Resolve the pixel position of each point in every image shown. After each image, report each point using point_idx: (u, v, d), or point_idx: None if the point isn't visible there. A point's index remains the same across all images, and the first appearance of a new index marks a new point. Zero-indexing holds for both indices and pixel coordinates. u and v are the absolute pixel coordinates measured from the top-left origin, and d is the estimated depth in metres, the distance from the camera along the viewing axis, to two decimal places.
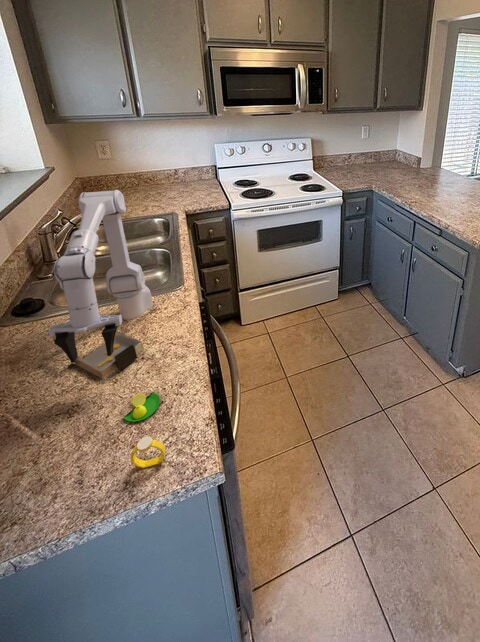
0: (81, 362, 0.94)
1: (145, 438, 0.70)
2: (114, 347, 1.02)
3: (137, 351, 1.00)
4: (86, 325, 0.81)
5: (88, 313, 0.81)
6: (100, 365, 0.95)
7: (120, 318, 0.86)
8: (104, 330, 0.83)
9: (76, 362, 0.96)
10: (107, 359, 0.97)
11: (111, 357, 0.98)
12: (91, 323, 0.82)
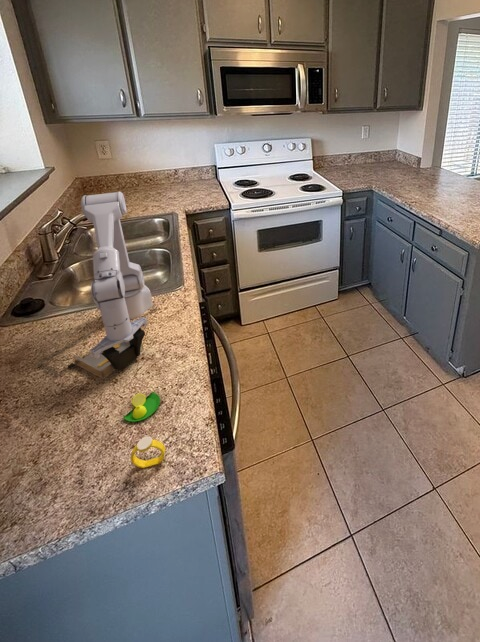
0: (81, 362, 0.94)
1: (145, 438, 0.70)
2: (114, 347, 1.02)
3: None
4: (130, 333, 0.92)
5: (129, 322, 0.92)
6: (100, 365, 0.95)
7: None
8: (136, 335, 0.95)
9: (76, 362, 0.96)
10: (107, 359, 0.97)
11: None
12: (131, 330, 0.93)
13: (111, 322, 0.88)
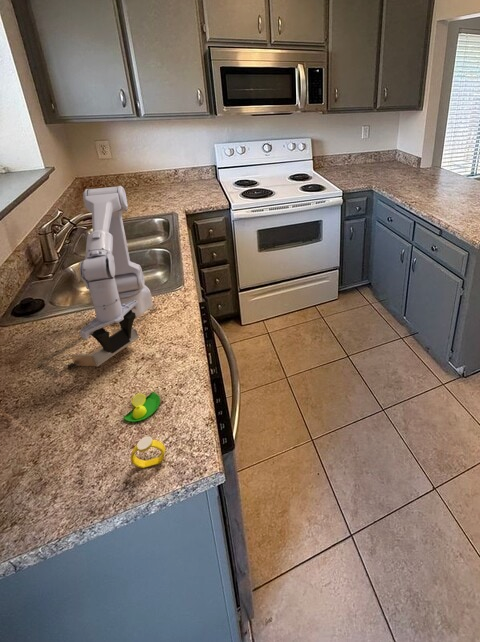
0: (77, 357, 0.94)
1: (145, 438, 0.70)
2: None
3: (131, 337, 0.99)
4: (120, 314, 0.91)
5: (119, 304, 0.91)
6: None
7: None
8: (127, 316, 0.94)
9: (75, 361, 0.96)
10: None
11: None
12: (122, 312, 0.92)
13: (100, 302, 0.87)
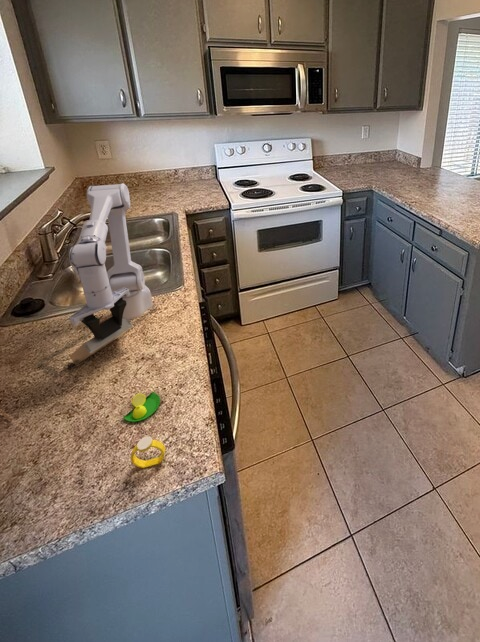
0: (74, 354, 0.94)
1: (145, 438, 0.70)
2: None
3: (124, 326, 0.98)
4: (110, 301, 0.91)
5: (110, 290, 0.91)
6: None
7: None
8: (118, 304, 0.94)
9: (73, 360, 0.96)
10: None
11: None
12: (112, 299, 0.92)
13: (89, 289, 0.87)
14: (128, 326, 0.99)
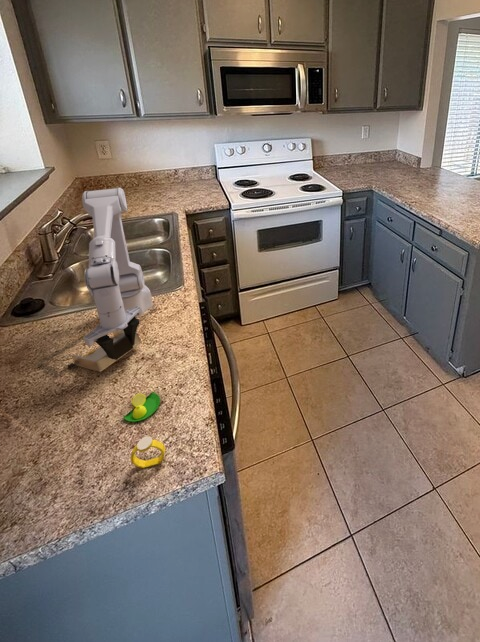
0: (79, 359, 0.94)
1: (145, 438, 0.70)
2: None
3: None
4: (124, 321, 0.91)
5: (123, 310, 0.91)
6: None
7: None
8: (131, 323, 0.94)
9: (75, 361, 0.96)
10: None
11: (92, 350, 1.01)
12: (126, 319, 0.92)
13: (105, 310, 0.87)
14: (137, 343, 1.00)
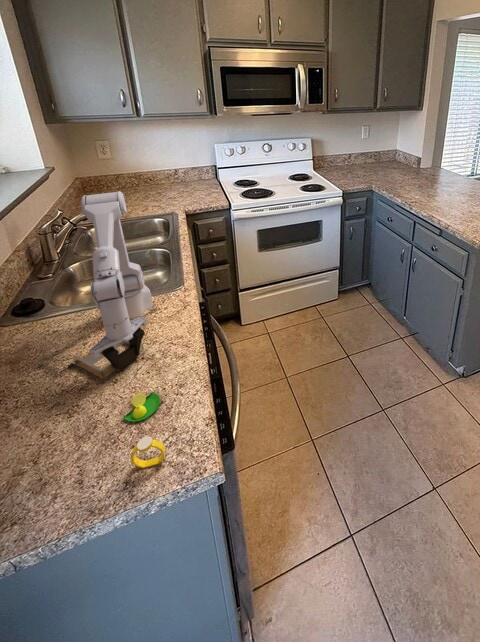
0: (81, 362, 0.94)
1: (145, 438, 0.70)
2: None
3: None
4: (129, 332, 0.92)
5: (129, 322, 0.92)
6: None
7: None
8: (136, 334, 0.95)
9: (76, 362, 0.96)
10: (89, 352, 1.00)
11: None
12: (131, 330, 0.93)
13: (111, 321, 0.88)
14: (140, 351, 1.00)
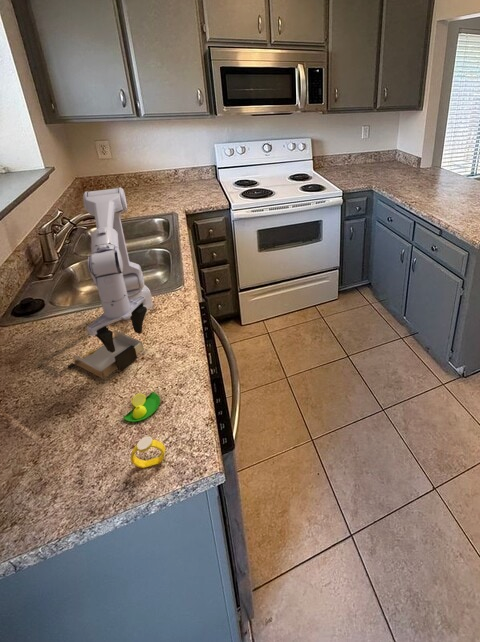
0: (81, 362, 0.94)
1: (145, 438, 0.70)
2: None
3: (137, 351, 1.00)
4: (128, 311, 0.89)
5: (127, 300, 0.89)
6: None
7: None
8: (138, 311, 0.92)
9: (76, 362, 0.96)
10: (89, 352, 1.00)
11: (92, 350, 1.01)
12: (129, 308, 0.90)
13: (109, 298, 0.85)
14: (140, 351, 1.00)
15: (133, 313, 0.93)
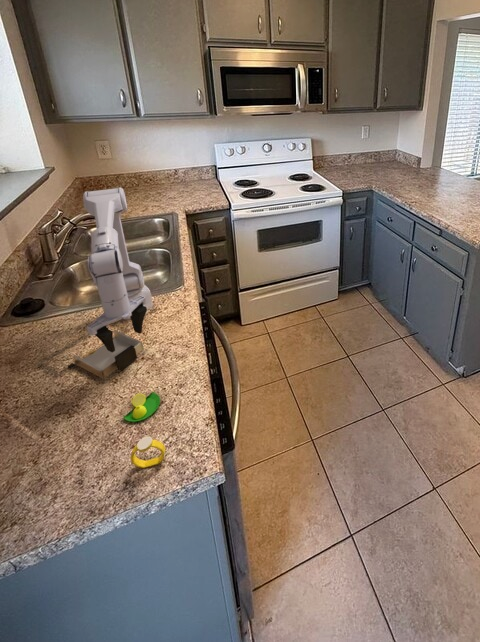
0: (81, 362, 0.94)
1: (145, 438, 0.70)
2: None
3: (137, 351, 1.00)
4: (128, 310, 0.89)
5: (127, 299, 0.88)
6: None
7: None
8: (138, 310, 0.92)
9: (76, 362, 0.96)
10: (89, 352, 1.00)
11: (92, 350, 1.01)
12: (129, 308, 0.90)
13: (109, 298, 0.84)
14: (140, 351, 1.00)
15: (133, 313, 0.93)
